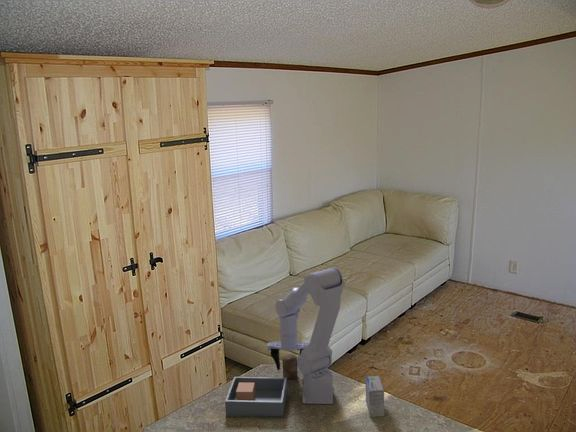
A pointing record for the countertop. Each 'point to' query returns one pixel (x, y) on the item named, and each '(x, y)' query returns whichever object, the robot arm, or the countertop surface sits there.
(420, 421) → the countertop surface
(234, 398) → the slate tote
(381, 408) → the medicine box
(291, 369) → the walnut cylinder
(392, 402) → the countertop surface
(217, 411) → the countertop surface
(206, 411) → the countertop surface
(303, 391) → the robot arm
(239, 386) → the terracotta cube
